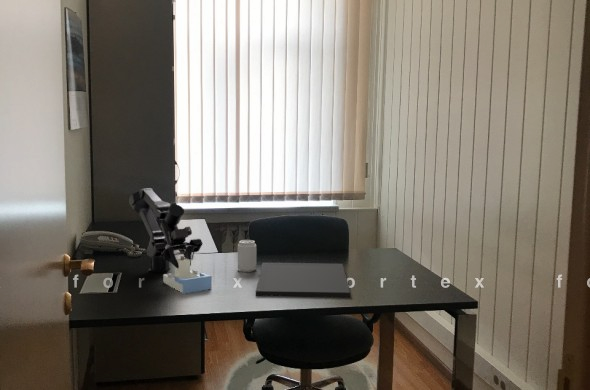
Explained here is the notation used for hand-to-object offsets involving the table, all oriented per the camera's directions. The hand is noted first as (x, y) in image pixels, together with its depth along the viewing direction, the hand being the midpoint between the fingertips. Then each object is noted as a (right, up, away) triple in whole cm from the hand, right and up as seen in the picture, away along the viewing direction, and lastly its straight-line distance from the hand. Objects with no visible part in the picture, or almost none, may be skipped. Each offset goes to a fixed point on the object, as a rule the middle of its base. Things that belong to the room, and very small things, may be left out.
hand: (184, 266), depth 232 cm
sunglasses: (-10, -1, +44) cm, 45 cm away
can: (+22, -4, +22) cm, 31 cm away
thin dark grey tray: (+44, -7, +8) cm, 45 cm away
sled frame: (+1, -7, -1) cm, 7 cm away
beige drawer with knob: (-1, -6, +2) cm, 7 cm away
